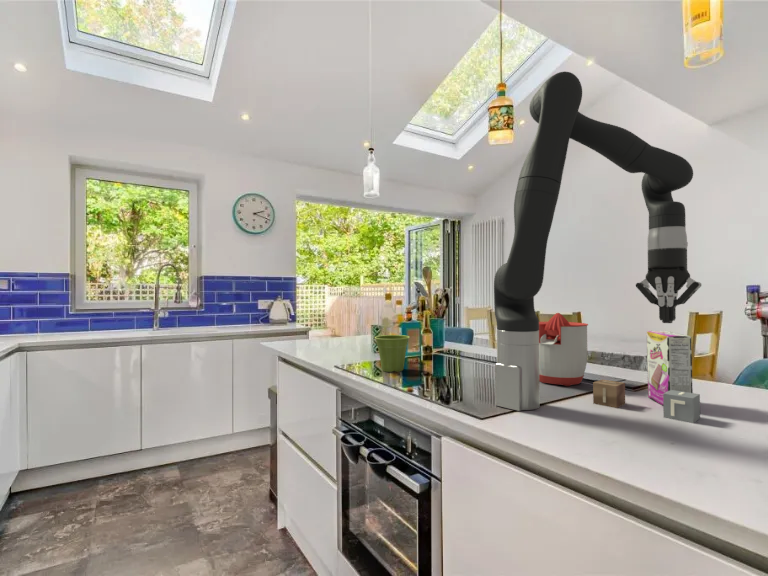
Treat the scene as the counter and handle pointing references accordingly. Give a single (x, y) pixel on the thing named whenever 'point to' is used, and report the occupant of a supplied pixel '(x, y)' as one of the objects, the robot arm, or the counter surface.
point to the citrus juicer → (562, 351)
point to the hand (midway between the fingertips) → (667, 322)
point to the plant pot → (392, 351)
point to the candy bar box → (668, 363)
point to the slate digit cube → (681, 406)
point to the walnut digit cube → (609, 393)
